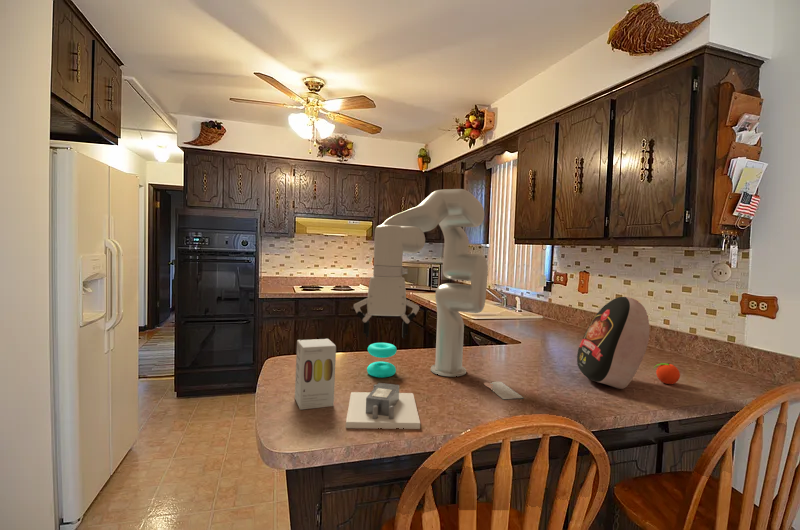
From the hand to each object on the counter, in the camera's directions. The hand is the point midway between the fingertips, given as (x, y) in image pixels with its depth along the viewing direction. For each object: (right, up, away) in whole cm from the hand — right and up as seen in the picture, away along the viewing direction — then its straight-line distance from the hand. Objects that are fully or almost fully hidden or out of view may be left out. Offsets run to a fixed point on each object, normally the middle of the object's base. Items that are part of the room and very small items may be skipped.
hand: (385, 336), depth 108 cm
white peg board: (-1, -20, +1) cm, 20 cm away
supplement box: (-20, -19, +6) cm, 29 cm away
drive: (-1, -19, +1) cm, 19 cm away
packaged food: (+75, -22, +32) cm, 85 cm away
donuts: (-3, -19, +33) cm, 38 cm away
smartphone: (+36, -21, +21) cm, 47 cm away
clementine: (+96, -22, +35) cm, 105 cm away
